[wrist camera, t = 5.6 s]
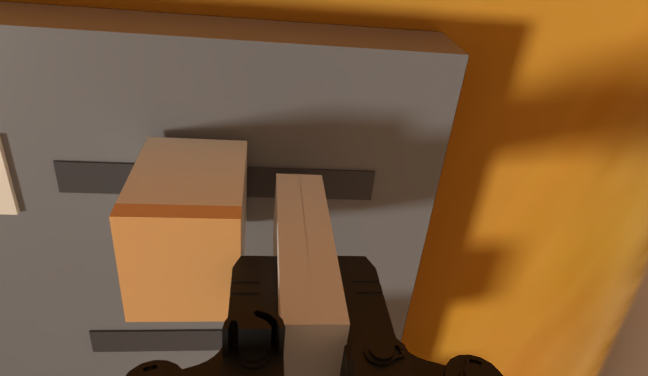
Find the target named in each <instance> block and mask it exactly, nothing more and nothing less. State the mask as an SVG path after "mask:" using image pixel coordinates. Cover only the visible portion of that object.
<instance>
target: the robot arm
mask: <svg viewBox="0 0 648 376" xmlns="http://www.w3.org/2000/svg"><path fill="white" fill-rule="evenodd" d="M126 376H503V375H502V374H501V373H500V371H499V370H498V369H496V368H495V367H494V366H493V365H492V364H491V363H489V362H488V361H486V360H484V359H482V358H480V357H476V356H473V355H458V356H456V357H454V358H452V359H450V361H449V362H448V364H447V365H446V366H445V365H441V364H438V363H434V362H430V361H426V360H423V359H421V358H418V357H416V356H414V355H412V354H411V353H409V352H408V351H407V349H406V347H405V345H404V344H403V343H401V342H400V341H399V340H398V339H397V338H396V336H395V333H394V330H393V326H392V323H391V319H390V316H389V312H388V309H387V305H386V302H385V298H384V295H383V291H382V288H381V284H380V281H379V277H378V274H377V270H376V268H375V266H374V265H373V264H372V263H371V262H370V261H369V260H368V259H367V257H366V256H337V253H336V247H335V242H334V237H333V232H332V226H331V221H330V216H329V210H328V205H327V200H326V195H325V189H324V184H323V179H322V175H306V174H279V173H276V188H275V207H274V226H273V256H240V258H239V259H238V260H237V262H236V263H235V265H234V266H233V267H232V277H231V288H230V298H229V309H228V318H227V319H226V320H225V322H224V325H223V327H222V348H221V350H220V351H219V352H218V353H217V354H216V355H215V356H214V357H212V358H211V359H209V360H207V361H206V362H203V363H201V364H198V365H195V366H192V367H188V368H185V369H181V368H180V367H179V366H178V365H177V364H175V363H173V362H170V361H167V360H152V361H149V362H145V363H141V364H140V365H138V366H136V367H135V368H133V369H132V370H130V371H129V372H128V373H127V375H126Z"/></svg>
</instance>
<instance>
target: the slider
mask: <svg viewBox="0 0 648 376" xmlns="http://www.w3.org/2000/svg"><path fill="white" fill-rule="evenodd" d="M246 201H247V141H241V140H216V139H190V138H165V137H147V139H146V141H145V143H144V145H143V147H142V149H141V151H140V153H139V156H138V158H137V160H136V162H135V164H134V166H133V168H132V170H131V172H130V174H129V176H128V178H127V180H126V182H125V184H124V187H123V189H122V191H121V193H120V195H119V197H118V199H117V201H116V203H115V205H114V207H113V209H112V211H111V213H110V216H109V220H110V226H111V233H112V239H113V245H114V252H115V258H116V265H117V271H118V277H119V284H120V290H121V296H122V303H123V309H124V316H125V322H218V321H225V320H226V319H227V318H228V309H229V298H230V288H231V277H232V267H233V266H234V265H235V263H236V262H237V260H238V259H239V258H240V256H244V255H245V239H246Z"/></svg>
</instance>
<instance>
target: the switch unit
mask: <svg viewBox="0 0 648 376" xmlns="http://www.w3.org/2000/svg"><path fill="white" fill-rule="evenodd" d="M468 58H469V54H467V53H466V52H465V51H464V50H463V49H461V48H460V47H459V46H458V45H457V44H456V43H454V42H453V41H452V40H451V39H450V38H448V37H447V36H446V35H445V34H444V33H442V32H434V31H419V30H405V29H391V28H376V27H362V26H348V25H333V24H319V23H305V22H290V21H276V20H262V19H247V18H233V17H219V16H205V15H190V14H176V13H162V12H147V11H133V10H119V9H104V8H90V7H76V6H61V5H47V4H33V3H18V2H4V1H0V376H126V375H127V373H128V372H129V371H130V370H132V369H133V368H135V367H136V366H138V365H140V364H141V363H145V362H149V361H152V360H167V361H170V362H173V363H175V364H177V365H178V366H179V367H180V368H181V369H185V368H188V367H192V366H195V365H198V364H201V363H203V362H206V361H207V360H209V359H211V358H212V357H214V356H215V355H216V354H217V353H218V352H219V351H220V350H221V348H222V327H223V325H224V322H225V321H218V322H125V316H124V309H123V303H122V296H121V290H120V284H119V277H118V271H117V265H116V258H115V252H114V245H113V239H112V233H111V226H110V220H109V216H110V213H111V211H112V209H113V207H114V205H115V203H116V201H117V199H118V197H119V195H120V193H121V191H122V189H123V187H124V184H125V182H126V180H127V178H128V176H129V174H130V172H131V170H132V168H133V166H134V164H135V162H136V160H137V158H138V156H139V153H140V151H141V149H142V147H143V145H144V143H145V141H146V139H147V137H165V138H190V139H216V140H241V141H247V201H246V239H245V255H244V256H273V226H274V207H275V188H276V173H279V174H306V175H322V179H323V184H324V189H325V195H326V200H327V205H328V210H329V216H330V221H331V226H332V232H333V237H334V242H335V247H336V253H337V256H366V257H367V259H368V260H369V261H370V262H371V263H372V264H373V265H374V266H375V268H376V270H377V274H378V277H379V281H380V284H381V288H382V291H383V295H384V298H385V302H386V305H387V309H388V312H389V316H390V319H391V323H392V326H393V330H394V333H395V336H396V338H397V339H398V340H399V341H400V342H401V339H402V335H403V331H404V327H405V322H406V318H407V314H408V310H409V306H410V301H411V297H412V293H413V289H414V285H415V280H416V276H417V272H418V268H419V264H420V259H421V255H422V251H423V247H424V243H425V238H426V234H427V230H428V226H429V222H430V217H431V213H432V209H433V205H434V201H435V196H436V192H437V188H438V184H439V180H440V175H441V171H442V167H443V163H444V159H445V154H446V150H447V146H448V142H449V138H450V133H451V129H452V125H453V121H454V117H455V112H456V108H457V104H458V100H459V96H460V91H461V87H462V83H463V79H464V75H465V70H466V66H467V62H468Z"/></svg>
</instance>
